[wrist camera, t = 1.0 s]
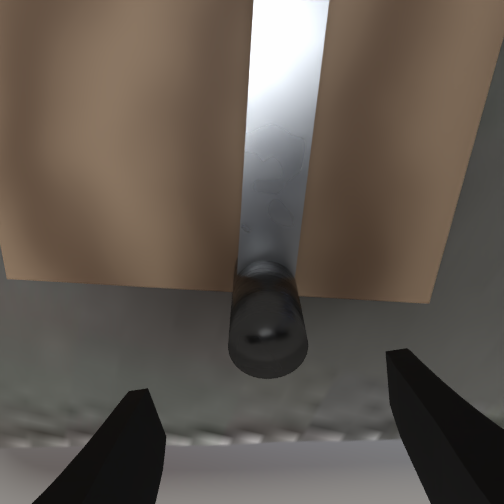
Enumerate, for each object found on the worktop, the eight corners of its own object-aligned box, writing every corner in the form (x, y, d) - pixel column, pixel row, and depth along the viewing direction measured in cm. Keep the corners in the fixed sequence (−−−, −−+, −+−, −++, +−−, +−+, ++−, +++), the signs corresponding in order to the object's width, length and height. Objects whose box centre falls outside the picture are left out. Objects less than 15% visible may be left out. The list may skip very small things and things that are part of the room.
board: (558, -225, 14) (668, -326, 11) (420, 291, 23) (454, 339, 19) (-80, -287, 14) (-206, -417, 10) (19, 267, 22) (-30, 312, 18)
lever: (235, -185, 14) (224, -345, 8) (370, -172, 14) (449, -323, 8) (216, 291, 21) (204, 375, 16) (305, 296, 21) (324, 381, 16)
